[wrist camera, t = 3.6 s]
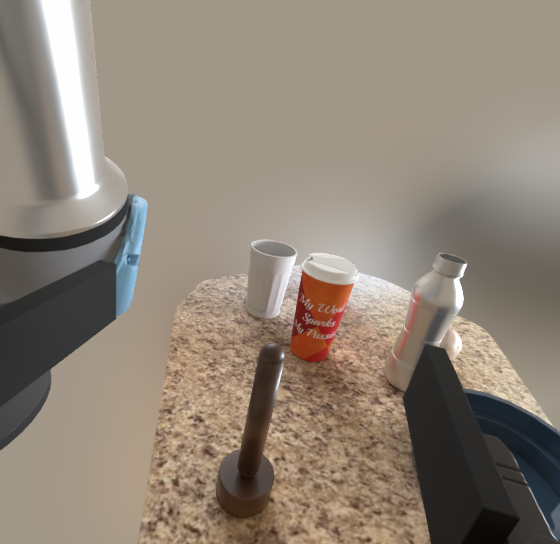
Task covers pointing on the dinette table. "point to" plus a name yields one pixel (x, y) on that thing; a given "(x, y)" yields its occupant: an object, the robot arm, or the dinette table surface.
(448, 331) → the garlic bulb
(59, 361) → the robot arm
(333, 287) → the coffee cup
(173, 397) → the dinette table surface
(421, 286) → the silver water bottle
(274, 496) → the dinette table surface
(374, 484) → the dinette table surface
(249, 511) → the wooden stamp handle
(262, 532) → the dinette table surface
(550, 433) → the bowl
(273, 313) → the cup
